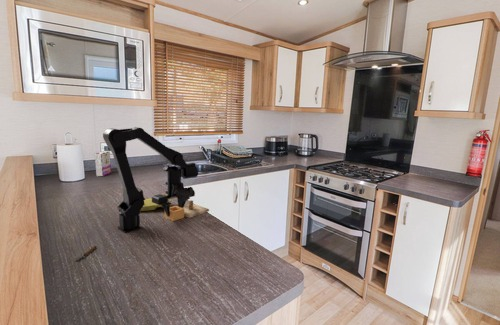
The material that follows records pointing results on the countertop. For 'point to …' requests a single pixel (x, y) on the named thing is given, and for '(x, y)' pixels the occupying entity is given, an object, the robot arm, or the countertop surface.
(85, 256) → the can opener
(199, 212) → the beige peg base
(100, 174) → the candy bar box
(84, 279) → the countertop surface
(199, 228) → the countertop surface
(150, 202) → the plastic component
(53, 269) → the countertop surface
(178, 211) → the orange nut
